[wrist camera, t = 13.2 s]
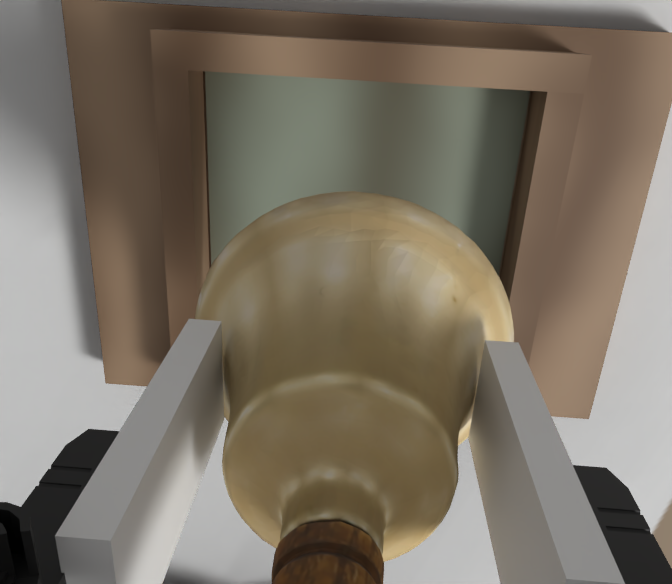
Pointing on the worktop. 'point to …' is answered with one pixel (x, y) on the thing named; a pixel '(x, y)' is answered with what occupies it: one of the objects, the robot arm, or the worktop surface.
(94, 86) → the walnut stand
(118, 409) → the worktop surface
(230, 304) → the hand bell
